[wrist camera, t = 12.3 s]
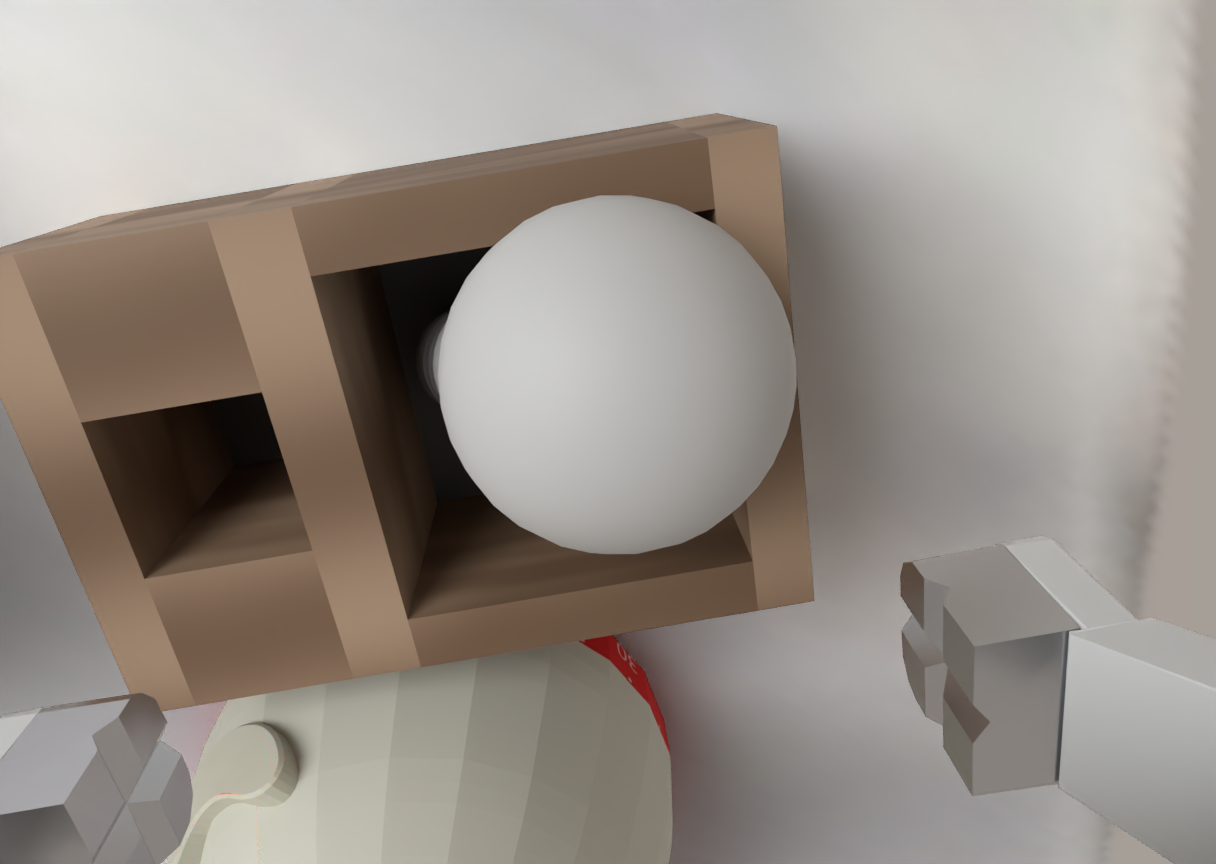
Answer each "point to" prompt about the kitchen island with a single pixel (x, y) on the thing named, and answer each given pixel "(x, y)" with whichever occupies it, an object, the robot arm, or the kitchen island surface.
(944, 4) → the kitchen island surface
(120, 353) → the socket block
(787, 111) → the kitchen island surface
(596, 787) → the kitchen timer
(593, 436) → the lightbulb
